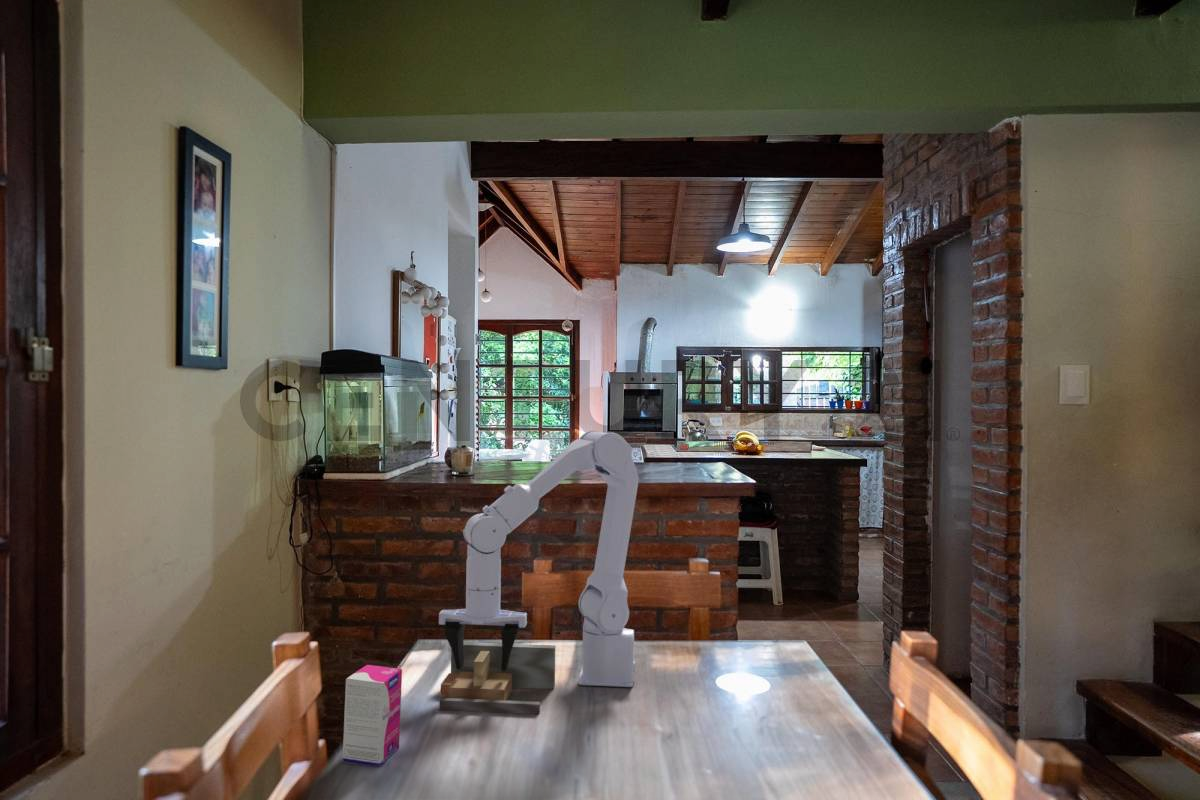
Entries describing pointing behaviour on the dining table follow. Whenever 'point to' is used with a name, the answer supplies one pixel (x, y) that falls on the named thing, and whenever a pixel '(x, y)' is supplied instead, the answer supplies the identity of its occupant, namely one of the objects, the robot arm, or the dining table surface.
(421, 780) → the dining table surface
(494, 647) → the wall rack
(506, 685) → the tan box with handle
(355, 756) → the supplement box
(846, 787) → the dining table surface
